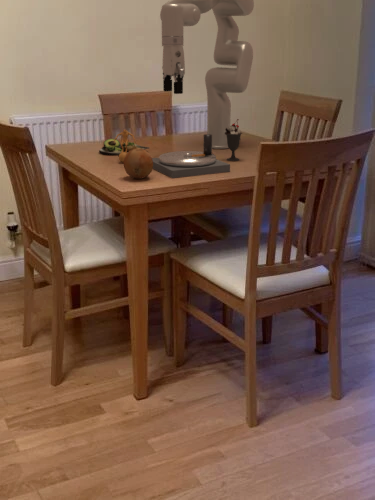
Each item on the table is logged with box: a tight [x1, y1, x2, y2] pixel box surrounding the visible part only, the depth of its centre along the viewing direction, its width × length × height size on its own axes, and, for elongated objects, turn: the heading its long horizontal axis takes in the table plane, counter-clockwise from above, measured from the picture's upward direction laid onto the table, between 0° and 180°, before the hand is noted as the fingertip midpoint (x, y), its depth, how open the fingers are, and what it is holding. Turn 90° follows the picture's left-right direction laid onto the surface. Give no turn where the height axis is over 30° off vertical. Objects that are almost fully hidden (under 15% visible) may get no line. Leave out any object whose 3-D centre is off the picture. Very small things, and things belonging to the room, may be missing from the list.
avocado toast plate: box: [98, 138, 150, 156], centre depth 256 cm, size 19×18×5 cm
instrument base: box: [152, 157, 231, 179], centre depth 227 cm, size 22×22×3 cm
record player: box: [158, 133, 217, 167], centre depth 225 cm, size 20×20×8 cm
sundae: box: [225, 118, 243, 162], centre depth 239 cm, size 7×7×15 cm
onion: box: [123, 148, 154, 180], centre depth 212 cm, size 10×10×10 cm
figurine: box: [114, 129, 137, 164], centre depth 235 cm, size 8×6×12 cm
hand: (172, 92), depth 228 cm, fingers open, 9 cm apart
